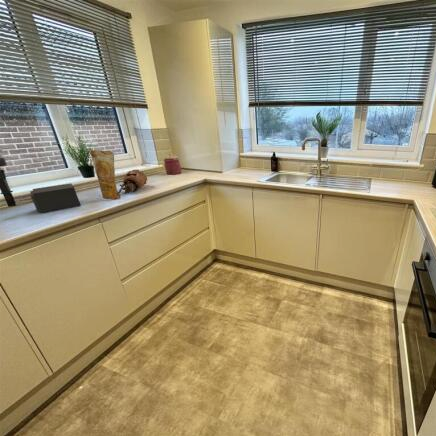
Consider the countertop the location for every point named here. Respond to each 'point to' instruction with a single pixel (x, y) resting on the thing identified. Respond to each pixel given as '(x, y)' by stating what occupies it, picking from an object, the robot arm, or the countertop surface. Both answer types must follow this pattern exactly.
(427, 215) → the countertop surface
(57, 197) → the dark grey slanted block
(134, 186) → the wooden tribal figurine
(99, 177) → the pancake mix bag
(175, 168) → the kitchen canister
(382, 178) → the countertop surface
